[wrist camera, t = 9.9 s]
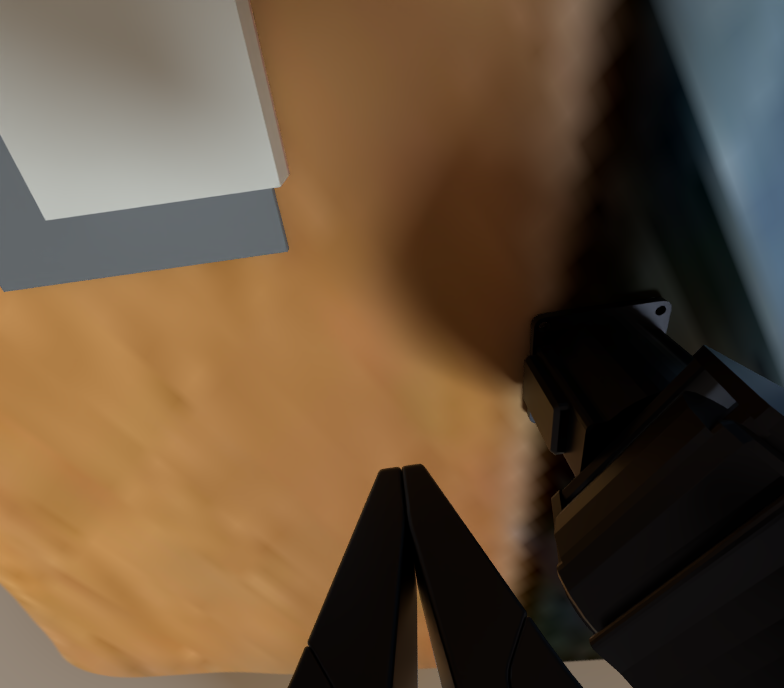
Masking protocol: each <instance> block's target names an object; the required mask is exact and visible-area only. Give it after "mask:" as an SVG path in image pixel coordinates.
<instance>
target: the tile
mask: <svg viewBox="0 0 784 688" xmlns="http://www.w3.org/2000/svg"><path fill="white" fill-rule="evenodd" d="M0 135H1V137H2V139H3V141H4V143H5V145H6V147H7V148H8V150H9V152H10V154H11V156H12V158H13V160H14V162H15V164H16V165H17V167H18V169H19V171H20V173H21V175H22V177H23V179H24V181H25V182H26V184H27V186H28V188H29V190H30V192H31V194H32V196H33V198H34V199H35V201H36V203H37V205H38V207H39V209H40V211H41V213H42V215H43V216H44V218H45V220H46V221H47V220H54V219H61V218H67V217H74V216H81V215H88V214H95V213H102V212H109V211H116V210H123V209H130V208H137V207H144V206H151V205H158V204H165V203H172V202H179V201H186V200H193V199H200V198H207V197H214V196H221V195H227V194H234V193H241V192H248V191H255V190H262V189H269V188H276V187H281V186H282V184H283V183H284V181H285V180H286V179H287V177H288V176H289V174H290V171H289V167H288V162H287V158H286V154H285V149H284V145H283V141H282V136H281V132H280V128H279V123H278V119H277V115H276V110H275V106H274V102H273V97H272V93H271V89H270V84H269V80H268V76H267V71H266V67H265V63H264V58H263V54H262V50H261V45H260V41H259V37H258V32H257V28H256V24H255V19H254V15H253V11H252V6H251V2H250V0H0Z"/></svg>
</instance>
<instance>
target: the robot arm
mask: <svg viewBox="0 0 784 688" xmlns="http://www.w3.org/2000/svg"><path fill="white" fill-rule="evenodd" d="M660 306H661V308H660V309H659V310H658V311H656V309H657V308H658V307H660ZM670 313H671V304H670V303H669V302H668V301H667V300H665V299H663V298H660V297H657V298H650V299H643V300H636V301H629V302H622V303H614V304H607V305H600V306H593V307H586V308H579V309H572V310H564V311H557V312H550V313H543V314H539V315H537V316H536V317H534V319H533V320H532V323H531V337H530V355H528V356H527V357H526V359H525V360H524V380H523V400H524V401H525V403H526V405H527V414H528V417H529V419H530V420H531V422H533V423H536V425H537V427H538V429H539V431H540V433H541V435H542V437H543V439H544V441H545V443H546V444H547V446H548V448H549V450H550V451H551V452H552V453H554V454H555V455H556V454H564V456H565V458H566V460H567V462H568V464H569V465H570V467H571V469H572V471H573V473H574V475H575V476H576V478H575V479H574V480H573V481H572V482H571V483H570V484H569V485H568V486H567V487H566V488H565V489H564V490H559V491H558V492H557V493H556V494H555V495H554V496H553V497H552V499H551V500H552V509H553V517H554V526H555V532H554V536H555V539H556V543H557V552H558V560H559V564H558V565H557V572H558V576H559V578H560V580H561V582H562V584H563V587H564V589H565V592H566V595H567V597H568V599H569V600H570V602H571V604H572V606H573V608H574V609H575V611H576V612H577V614H578V615H579V617H580V618H581V619H582V621H583V622H584V623H585V625H586V626H587V627H588V628H589V629H590V630H591V631H592V632H593V634H594V635H593V636H592V637H591V638H590V639H589V640H590V644H591V647H592V648H593V649H594V650H595V651H596V652H597V653H598V654H599V655H600V656H601V657H602V658H603V659H605V660H606V661H607V662H608V663H609V664H610V665H611V666H613V667H614V668H615V669H616V670H617V671H618V672H619V673H620V674H621V675H622V676H623V677H624V678H625V679H626V680H627V681H628V683H629V684H630V685H631V686H632V687H633V688H784V388H782V387H780V386H778V385H777V384H775V383H773V382H771V381H769V380H768V379H766V378H764V377H762V376H760V375H758V374H757V373H755V372H753V371H751V370H749V369H748V368H746V367H744V366H742V365H740V364H738V363H737V362H735V361H733V360H731V359H729V358H728V357H726V356H724V355H722V354H720V353H718V352H717V351H715V350H713V349H711V348H709V347H708V346H706V345H703V346H702V347H701V348H700V349H699V350H698V351H697V352H696V353H695V354H694V355H693V356H692V355H690V354H689V353H688V352H687V351H686V350H684V349H683V348H682V347H681V346H680V345H678V344H677V343H676V342H675V341H674V340H672V339H671V338H670V337H669V336H668V335H666V331H667V326H668V322H669V317H670ZM543 322H547V323H546V325H545V326H544V327H541V328H540V327H539V326H540V324H541V323H543ZM415 573H416V575H415ZM416 579H417V585H418V590H419V594H420V599H421V603H422V607H423V611H424V615H425V619H426V624H427V628H428V632H429V636H430V640H431V644H432V648H433V652H434V656H435V661H436V665H437V669H438V673H439V677H440V681H441V685H442V688H583V687H582V686H581V685H580V683H579V682H578V681H577V680H576V678H575V677H574V676H573V675H572V674H571V672H570V671H569V670H568V668H567V667H566V666H565V664H564V663H563V661H562V660H561V659H560V657H559V656H558V655H557V653H556V652H555V651H554V649H553V648H552V647H551V645H550V644H549V643H548V641H547V640H546V639H545V637H544V636H543V634H542V633H541V631H540V630H539V629H538V627H537V626H536V624H535V623H534V621H533V620H532V619H531V617H527V612H526V610H525V609H524V608H523V606H522V605H521V603H520V602H519V601H518V599H517V598H516V596H515V595H514V593H513V592H512V591H511V589H510V588H509V586H508V585H507V583H506V582H505V581H504V579H503V578H502V576H501V575H500V573H499V572H498V571H497V569H496V568H495V566H494V565H493V563H492V562H491V561H490V559H489V558H488V556H487V555H486V553H485V552H484V551H483V549H482V548H481V546H480V545H479V543H478V542H477V541H476V539H475V538H474V536H473V535H472V534H471V532H470V531H469V529H468V528H467V526H466V525H465V524H464V522H463V521H462V519H461V518H460V516H459V515H458V514H457V512H456V511H455V509H454V508H453V506H452V505H451V504H450V502H449V501H448V499H447V498H446V496H445V495H444V494H443V492H442V491H441V489H440V488H439V486H438V485H437V484H436V482H435V481H434V479H433V478H432V476H431V475H430V474H429V472H428V471H427V469H426V468H425V467H424V466H423V465H422V464H415V465H407V466H404V467H402V471H401V469H400V468H399V467H393V468H386V469H381V470H380V471H379V473H378V475H377V477H376V479H375V482H374V484H373V487H372V489H371V491H370V494H369V496H368V498H367V501H366V503H365V506H364V508H363V510H362V513H361V515H360V518H359V520H358V522H357V525H356V527H355V530H354V532H353V534H352V537H351V539H350V541H349V544H348V546H347V549H346V551H345V553H344V556H343V558H342V561H341V563H340V565H339V568H338V570H337V572H336V575H335V577H334V580H333V582H332V584H331V587H330V589H329V592H328V594H327V596H326V599H325V601H324V604H323V606H322V608H321V611H320V613H319V615H318V618H317V620H316V623H315V625H314V627H313V630H312V632H311V635H310V637H309V639H308V646H309V647H308V646H307V647H305V648H304V651H303V653H302V656H301V658H300V660H299V663H298V665H297V667H296V670H295V672H294V675H293V677H292V679H291V681H290V683H289V686H288V688H418V675H417V673H418V665H417V587H416Z"/></svg>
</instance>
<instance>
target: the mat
mask: <svg viewBox="0 0 784 688" xmlns="http://www.w3.org/2000/svg"><path fill="white" fill-rule="evenodd" d="M288 250H289V246H288V242H287V238H286V234H285V230H284V226H283V222H282V219H281V215H280V211H279V207H278V203H277V199H276V195H275V191H274V188H269V189H262V190H255V191H248V192H241V193H234V194H227V195H221V196H214V197H207V198H200V199H193V200H186V201H179V202H172V203H165V204H158V205H151V206H144V207H137V208H130V209H123V210H116V211H109V212H102V213H95V214H88V215H81V216H74V217H67V218H61V219H54V220H47V221H46V220H45V218H44V216H43V215H42V213H41V211H40V209H39V207H38V205H37V203H36V201H35V199H34V198H33V196H32V194H31V192H30V190H29V188H28V186H27V184H26V182H25V181H24V179H23V177H22V175H21V173H20V171H19V169H18V167H17V165H16V164H15V162H14V160H13V158H12V156H11V154H10V152H9V150H8V148H7V147H6V145H5V143H4V141H3V139H2V137H1V135H0V286H1V288H2V290H3V291H4V292H6V291H13V290H20V289H27V288H34V287H41V286H48V285H55V284H63V283H70V282H77V281H84V280H91V279H98V278H105V277H112V276H119V275H126V274H133V273H140V272H147V271H154V270H161V269H168V268H175V267H182V266H189V265H196V264H204V263H211V262H218V261H225V260H232V259H239V258H246V257H253V256H260V255H267V254H274V253H281V252H288Z"/></svg>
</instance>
